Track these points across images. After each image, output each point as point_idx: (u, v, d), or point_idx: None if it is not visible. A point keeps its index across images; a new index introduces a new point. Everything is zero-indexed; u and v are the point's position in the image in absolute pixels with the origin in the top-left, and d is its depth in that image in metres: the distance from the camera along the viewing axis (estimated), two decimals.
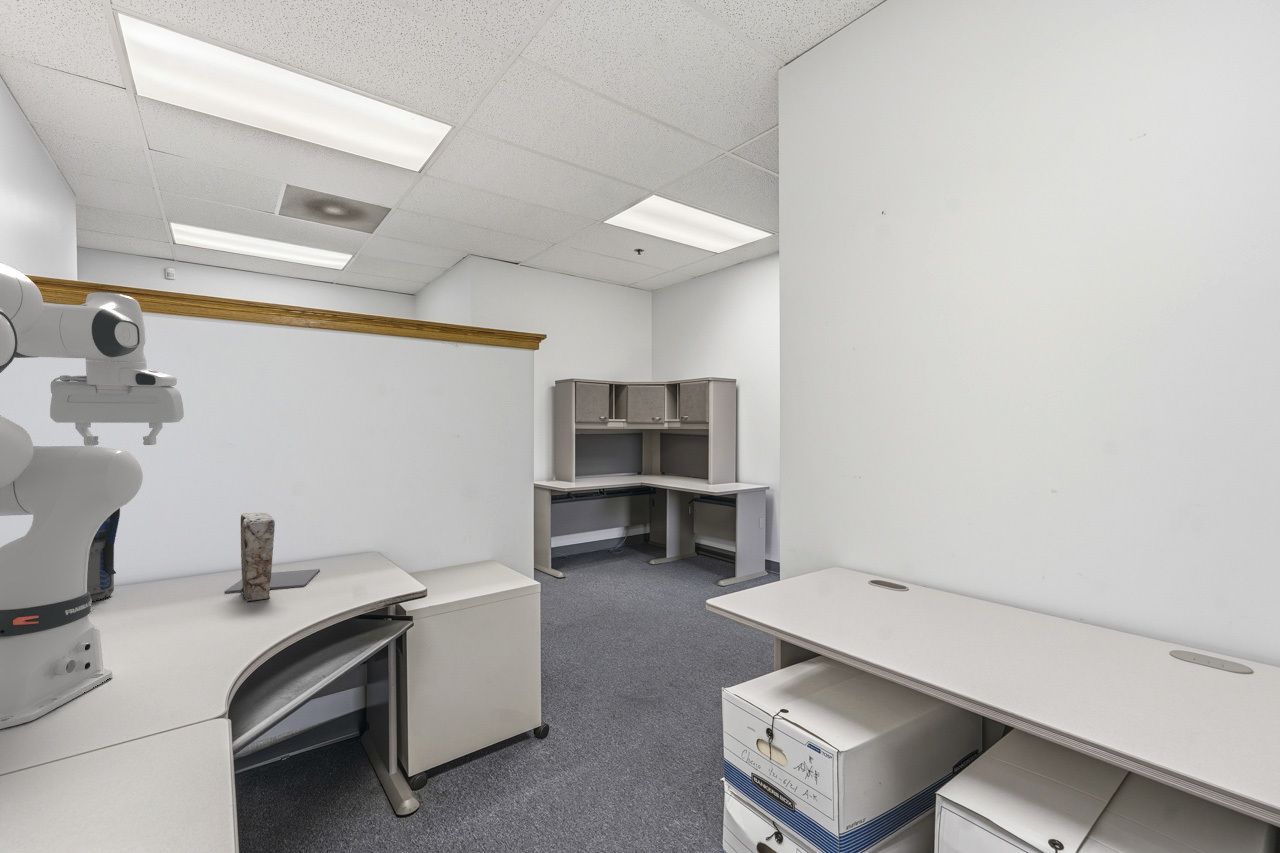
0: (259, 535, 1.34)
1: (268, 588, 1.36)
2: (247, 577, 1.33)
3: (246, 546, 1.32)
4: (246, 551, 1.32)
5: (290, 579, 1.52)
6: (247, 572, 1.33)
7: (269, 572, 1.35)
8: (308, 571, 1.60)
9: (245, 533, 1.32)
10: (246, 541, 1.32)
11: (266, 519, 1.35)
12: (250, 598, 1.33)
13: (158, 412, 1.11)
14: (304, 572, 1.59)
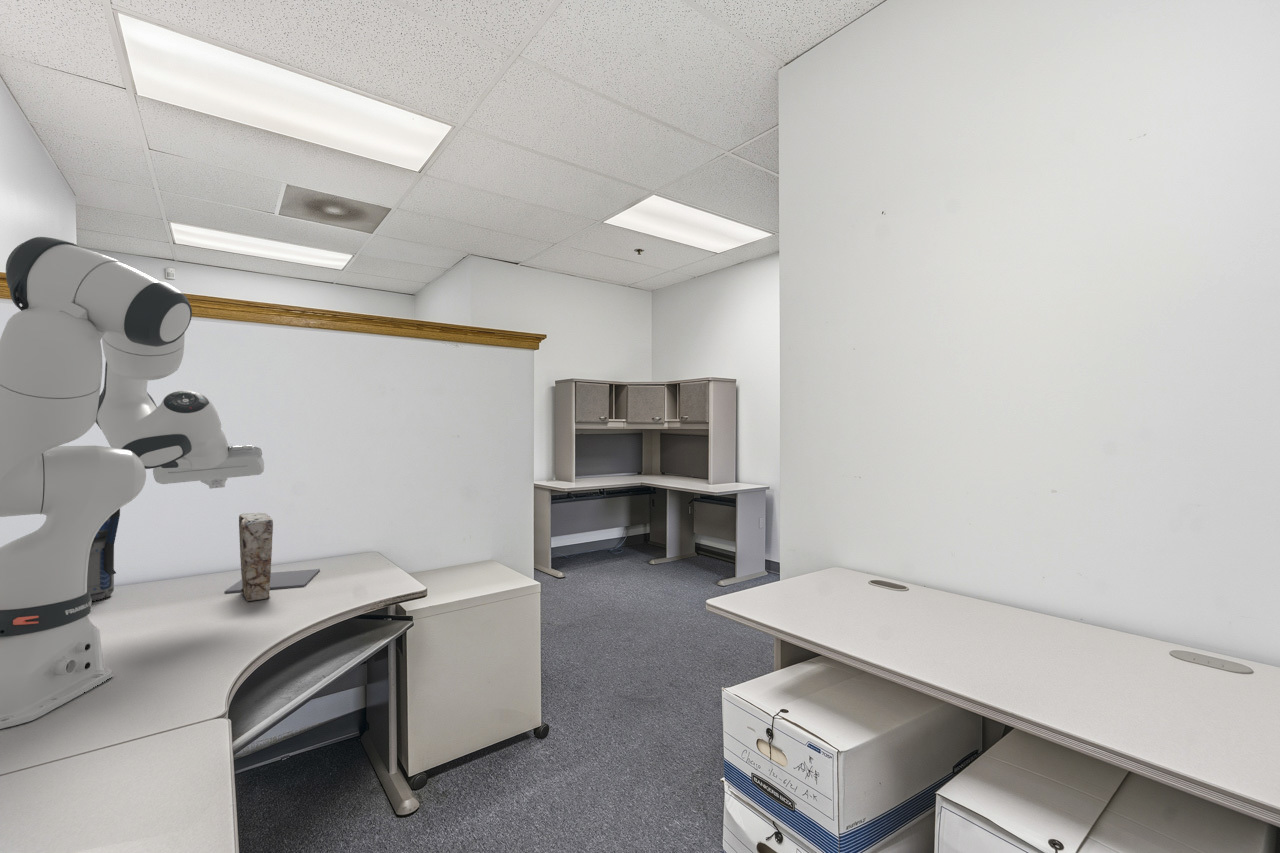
0: (257, 535, 1.34)
1: (268, 588, 1.36)
2: (246, 577, 1.32)
3: (245, 546, 1.32)
4: (245, 551, 1.32)
5: (290, 579, 1.52)
6: (246, 572, 1.32)
7: (268, 572, 1.35)
8: (308, 571, 1.60)
9: (243, 533, 1.32)
10: (245, 541, 1.32)
11: (264, 519, 1.35)
12: (250, 598, 1.33)
13: None
14: (304, 572, 1.59)
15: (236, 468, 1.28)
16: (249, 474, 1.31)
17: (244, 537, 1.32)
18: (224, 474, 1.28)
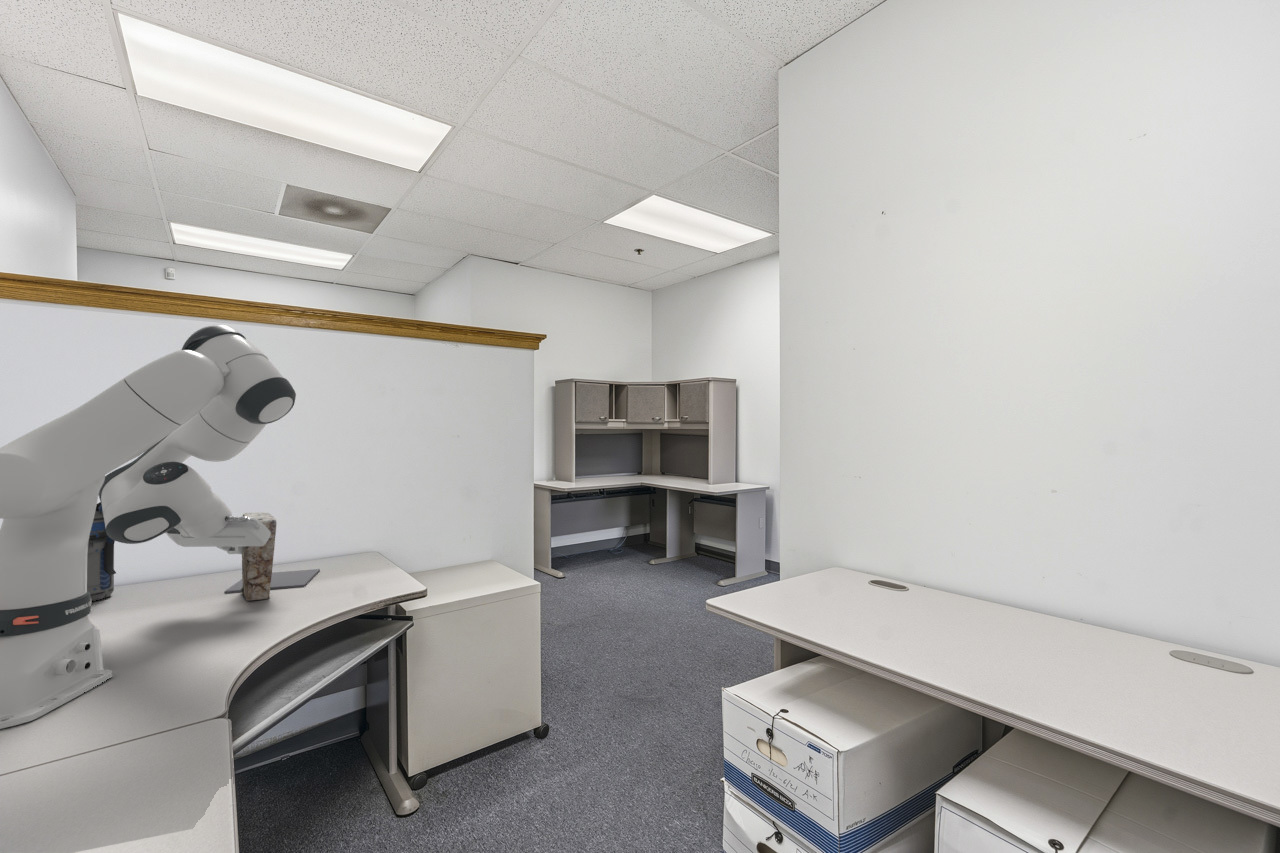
0: None
1: (268, 588, 1.36)
2: (248, 577, 1.33)
3: (247, 546, 1.32)
4: (247, 551, 1.32)
5: (290, 579, 1.52)
6: (248, 572, 1.33)
7: (270, 572, 1.36)
8: (308, 571, 1.60)
9: None
10: None
11: (268, 519, 1.36)
12: (250, 598, 1.33)
13: None
14: (304, 572, 1.59)
15: (236, 538, 1.26)
16: (252, 545, 1.28)
17: None
18: (230, 543, 1.27)
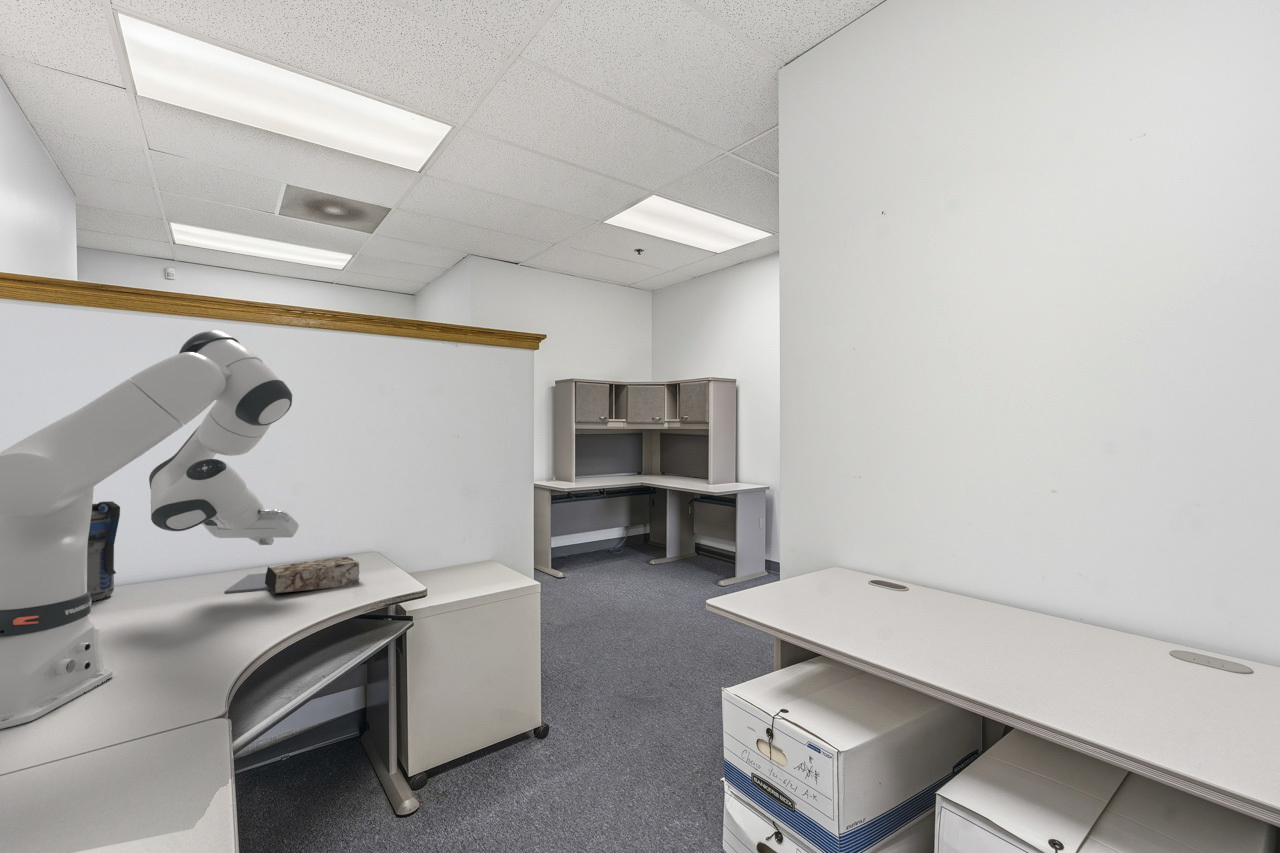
0: (345, 575, 1.47)
1: (286, 591, 1.38)
2: (303, 571, 1.41)
3: (336, 566, 1.46)
4: (331, 567, 1.45)
5: None
6: (308, 571, 1.41)
7: (304, 589, 1.41)
8: None
9: (349, 564, 1.48)
10: (341, 565, 1.47)
11: (358, 577, 1.51)
12: (278, 577, 1.37)
13: None
14: None
15: (268, 529, 1.36)
16: (282, 536, 1.38)
17: (346, 565, 1.47)
18: (261, 534, 1.38)
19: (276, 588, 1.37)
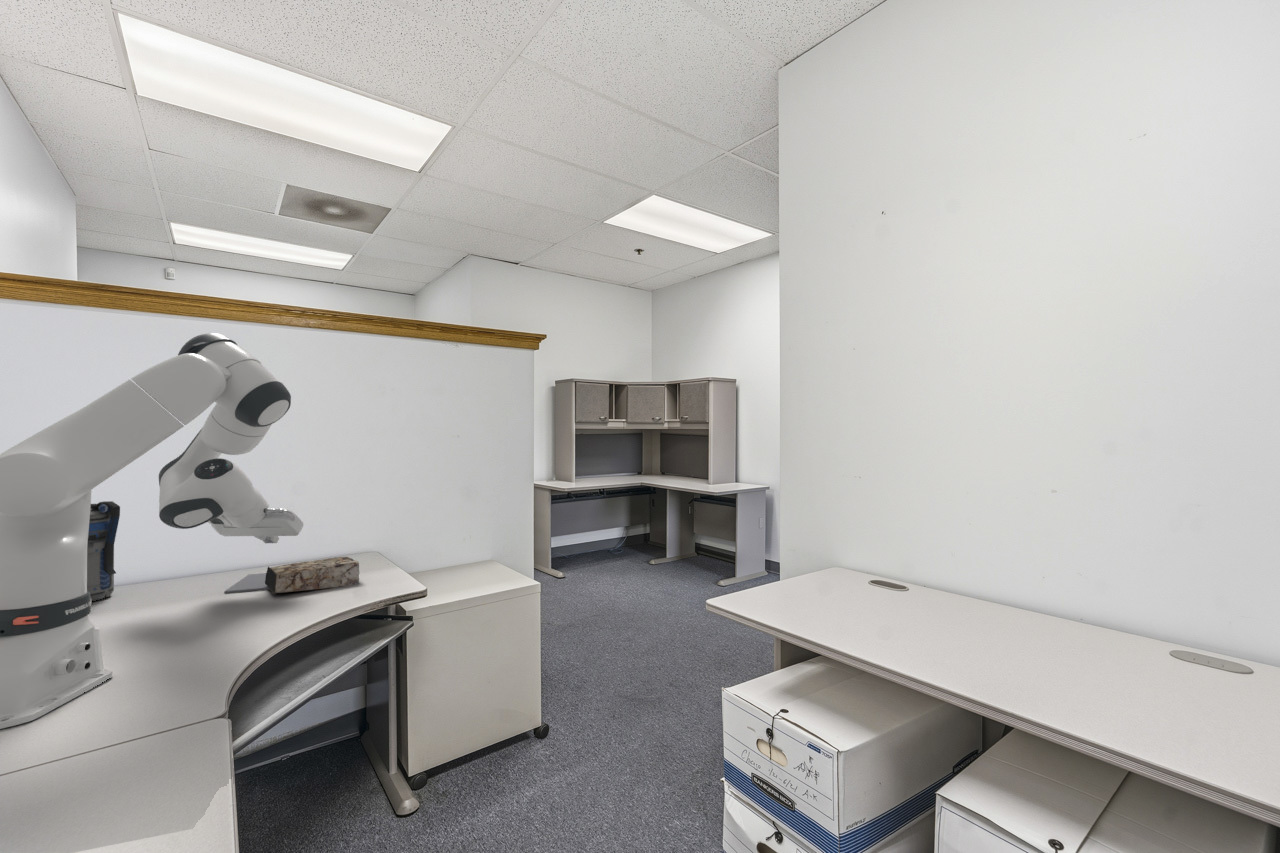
0: (345, 575, 1.47)
1: (286, 591, 1.38)
2: (303, 571, 1.41)
3: (336, 566, 1.46)
4: (331, 567, 1.45)
5: None
6: (308, 571, 1.41)
7: (304, 589, 1.41)
8: None
9: (349, 564, 1.48)
10: (341, 565, 1.47)
11: (358, 577, 1.51)
12: (278, 577, 1.37)
13: None
14: None
15: (273, 528, 1.39)
16: (287, 534, 1.41)
17: (346, 565, 1.47)
18: (267, 532, 1.40)
19: (276, 588, 1.37)
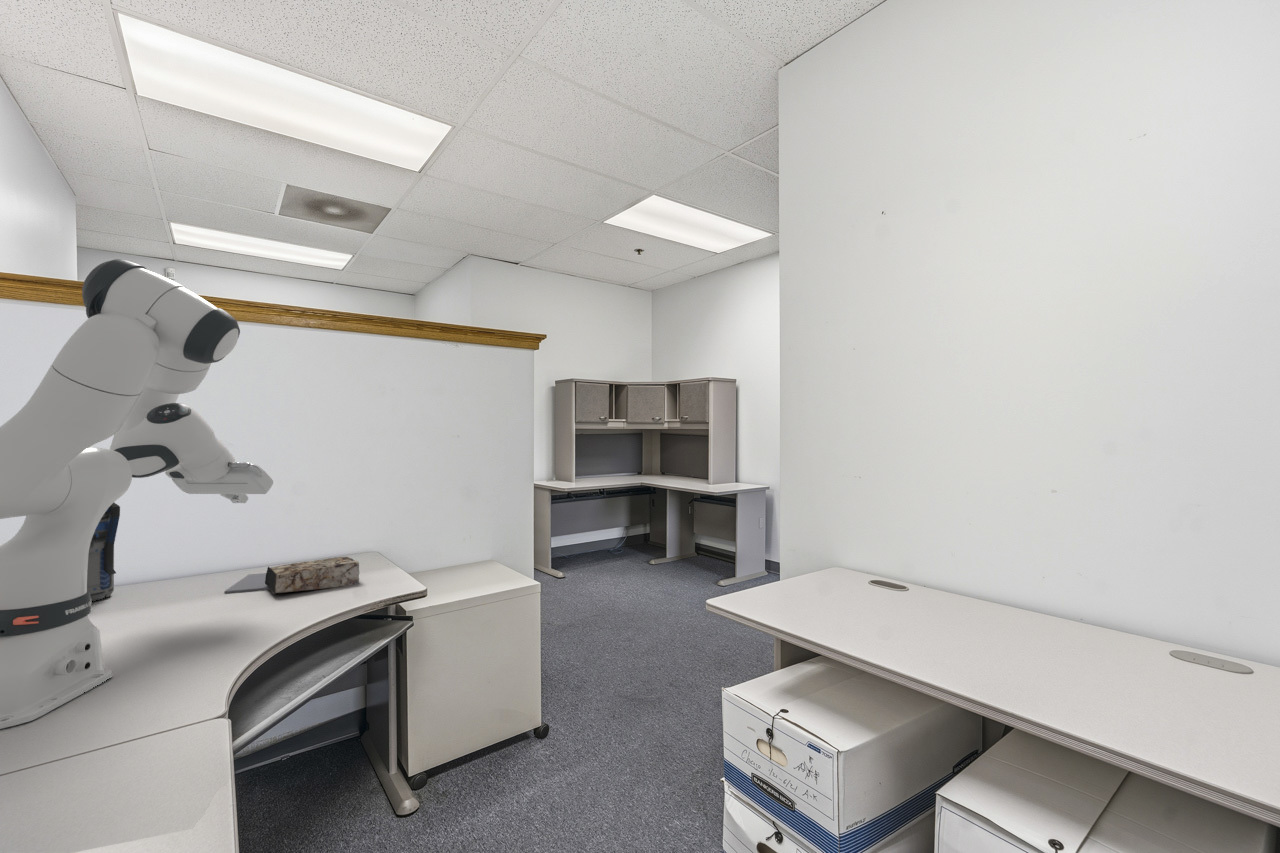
0: (345, 575, 1.47)
1: (286, 591, 1.38)
2: (303, 571, 1.41)
3: (336, 566, 1.46)
4: (331, 567, 1.45)
5: None
6: (308, 571, 1.41)
7: (304, 589, 1.41)
8: None
9: (349, 564, 1.48)
10: (341, 565, 1.47)
11: (358, 577, 1.51)
12: (278, 577, 1.37)
13: None
14: None
15: (239, 484, 1.27)
16: (255, 492, 1.29)
17: (346, 565, 1.47)
18: (233, 490, 1.28)
19: (276, 588, 1.37)
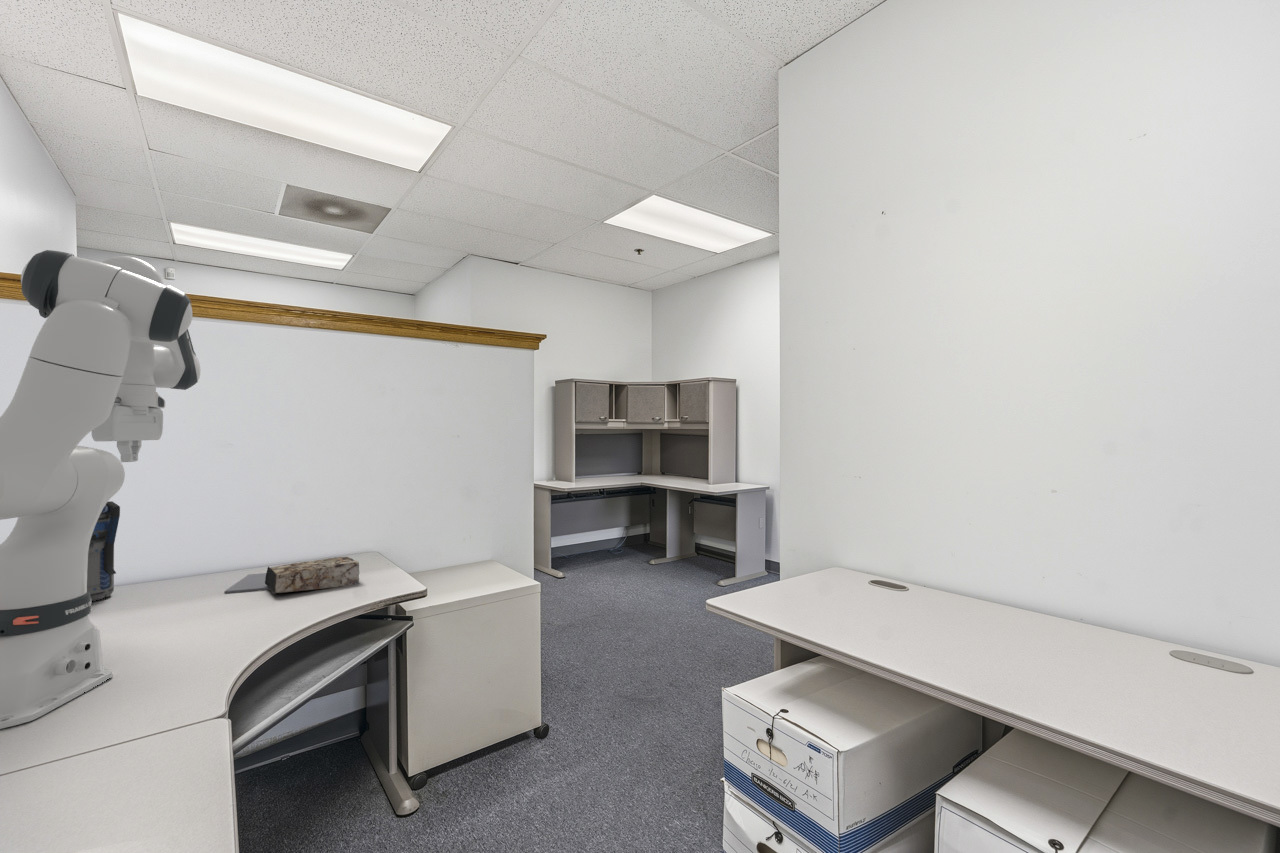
0: (345, 575, 1.47)
1: (286, 591, 1.38)
2: (303, 571, 1.41)
3: (336, 566, 1.46)
4: (331, 567, 1.45)
5: None
6: (308, 571, 1.41)
7: (304, 589, 1.41)
8: None
9: (349, 564, 1.48)
10: (341, 565, 1.47)
11: (358, 577, 1.51)
12: (278, 577, 1.37)
13: (156, 430, 1.27)
14: None
15: None
16: None
17: (346, 565, 1.47)
18: None
19: (276, 588, 1.37)
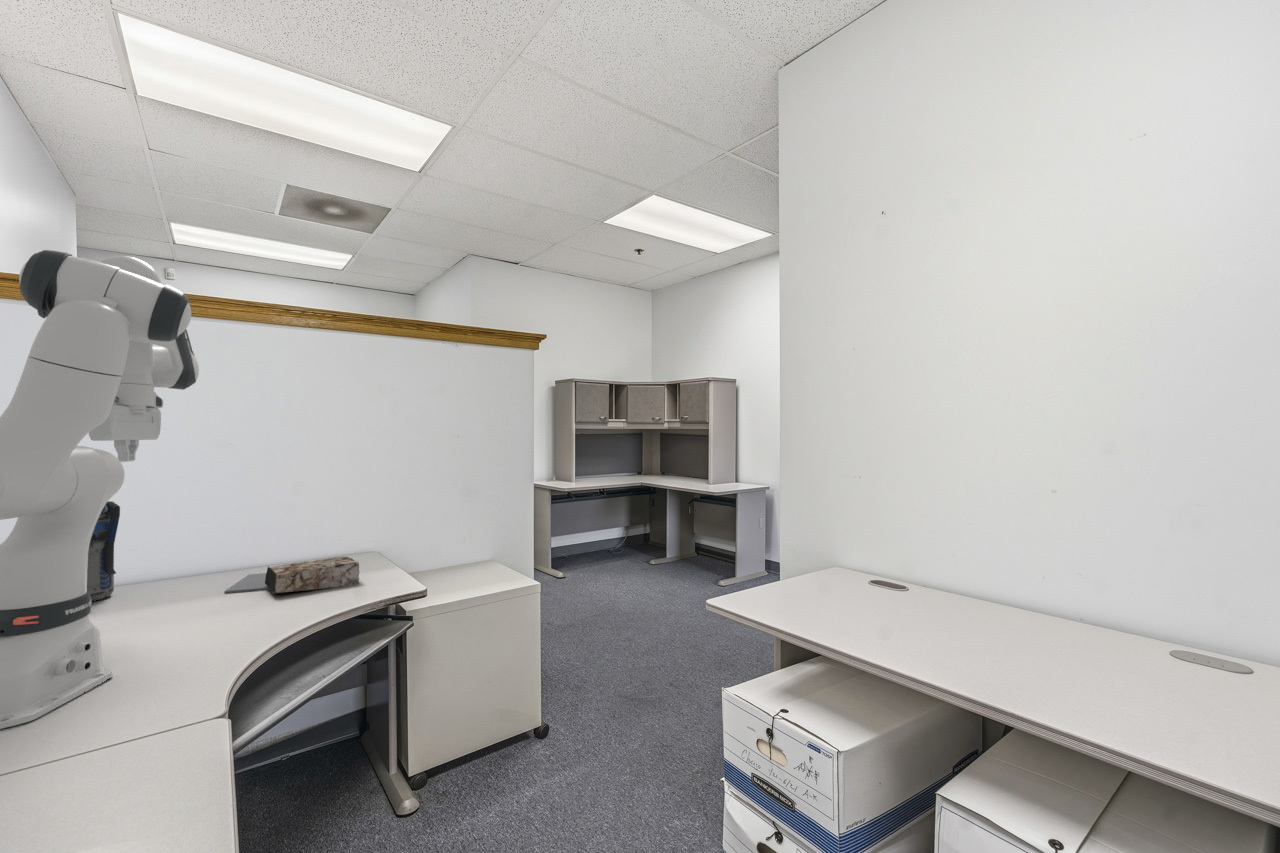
0: (345, 575, 1.47)
1: (286, 591, 1.38)
2: (303, 571, 1.41)
3: (336, 566, 1.46)
4: (331, 567, 1.45)
5: None
6: (308, 571, 1.41)
7: (304, 589, 1.41)
8: None
9: (349, 564, 1.48)
10: (341, 565, 1.47)
11: (358, 577, 1.51)
12: (278, 577, 1.37)
13: (153, 430, 1.27)
14: None
15: None
16: None
17: (346, 565, 1.47)
18: None
19: (276, 588, 1.37)
